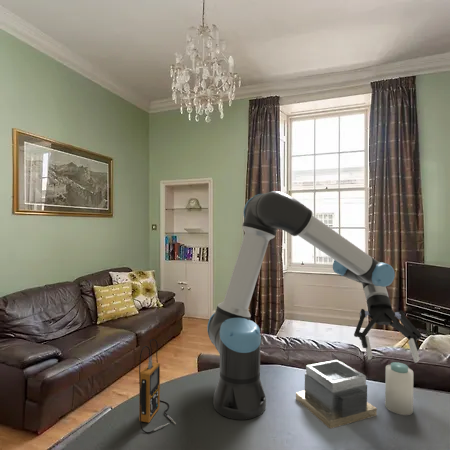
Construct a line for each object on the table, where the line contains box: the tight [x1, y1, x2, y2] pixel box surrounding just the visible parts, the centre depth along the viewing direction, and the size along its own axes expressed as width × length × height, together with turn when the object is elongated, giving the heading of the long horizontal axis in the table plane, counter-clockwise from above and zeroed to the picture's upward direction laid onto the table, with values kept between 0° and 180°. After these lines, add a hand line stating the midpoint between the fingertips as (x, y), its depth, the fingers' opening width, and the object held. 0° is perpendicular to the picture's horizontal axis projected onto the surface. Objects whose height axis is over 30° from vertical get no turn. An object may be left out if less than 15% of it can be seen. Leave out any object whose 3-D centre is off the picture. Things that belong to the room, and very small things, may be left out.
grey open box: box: [295, 359, 378, 430], centre depth 92 cm, size 15×16×10 cm
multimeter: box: [138, 338, 177, 434], centre depth 87 cm, size 15×10×20 cm
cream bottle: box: [384, 361, 414, 416], centre depth 92 cm, size 7×7×12 cm
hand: (393, 359), depth 99 cm, fingers open, 13 cm apart
